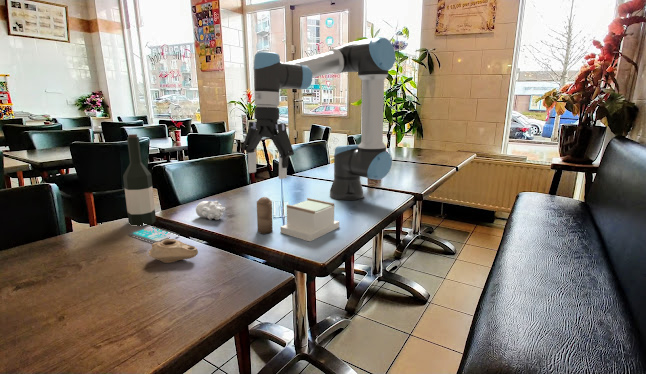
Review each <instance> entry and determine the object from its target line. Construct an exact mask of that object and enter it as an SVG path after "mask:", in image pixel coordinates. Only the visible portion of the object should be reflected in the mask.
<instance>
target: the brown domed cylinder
mask: <svg viewBox="0 0 646 374" xmlns="http://www.w3.org/2000/svg"><path fill="white" fill-rule="evenodd" d="M256 224H257V233H259V234H261V235H262V234H263V235H265V234H271V233H272V232H274V231H273V228H274V227H273V201H272V200H271V199H270V198H269V197H267V196H263V197H260V198H259V199H258V200H256Z"/></svg>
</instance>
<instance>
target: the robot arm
mask: <svg viewBox="0 0 646 374" xmlns="http://www.w3.org/2000/svg"><path fill="white" fill-rule="evenodd" d="M395 62H396V52H395V48H394V45H393V44H392V42H391V41H390V40H389V39H388V38H385V37H372V38H366V39H361V40H355V41H351V42H348V43H346V44H343V45H340V46H338V47H334V48H330V49H329V50H328V51H327V52H325V53H320V54H316V55H312V56H307V57H304V58H300V59H295V60H292V61H287V62H282V61H281V59H280V55H279V53H276V52H272V51H259V52H256V53H255V54H254V59H253V82H254V83H253V84H254V85H253V87H254V88H253V92H254V101H253V102H254V106H255V107H254V109H253V111H254V112H253V114H254V120H256V121H249V122H248V129H247V131H246V132H247V133H246V135H245V138H244V141H243V144H242V147H241V148H242V151H246V156H247V157H246V159H247V160H246V161H247V164H248V165H247V167H248V168H247V171H248V174H251V173H252V174H253V173H256V172H257V152H256V149H257V147H258V145H259V144H260V142H261V141H262V139H264V138H266V139H270V140H271V141H272V143H273V144H274V146H275V148H276V149H277V152H278V153H279V155H280V156H279V157H278V179H280V180H281V179H286V178H288V176H287V172H288V170H287V169H288V167H289V158H290V157H292V156H294V155H295V152H294V149H293V146H292V143H291V140H290V138H289V134H288V132H287V124H285V123H279V122H278V121H279V120H280V107H279V106H280V90H289V89H290V90H292V89H293V90H298V91H299V90H308V89H309V88H310V86H311V85H312V83H313V79H315V78H318V77H321V76H324V75H325V76H326V75H329V74H335V75H337V74H341V73H342V74H343V73H357V78H359V79H360V80H361V131H360V132H361V136H360V137H361V142H360V143H359V144H348V145H347V144H346V145H337V146H336V147H335V148H334V155H333V161H334V162H333V181H332V183H331V187H330V189H329V197H331V198H332V199H335V200H341V201H355V200H361V199H363V198H364V189H363V186H362V183H361V178H366V179H370V180H378V181H379V180H382V179H385V178H386V177H387V175H388V174H389V172H390V170H391V168H392V164H393V159H392V156H391V153H389V151H387V145H386V144H385V143H384V141H383V140H384V105H385V104H384V101H385V97H384V95H385V79H387V78H388V76H389V70H391V69H392V68H393V67H394V65H395Z"/></svg>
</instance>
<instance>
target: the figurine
mask: <svg viewBox="0 0 646 374" xmlns="http://www.w3.org/2000/svg"><path fill="white" fill-rule="evenodd" d="M226 210H227V209H226V207H224V206H223V204H221V203H219V200H215V201H211V200H209V201H207V200H204V201H200V202H199V203H198V204H197V205H196V206H195V212H196V215H197V216H198V217H200V218H203V219H208V220H213V219H214V220H215V221H218V220H220V219H221V218H222V216H224V212H225V211H226Z"/></svg>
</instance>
